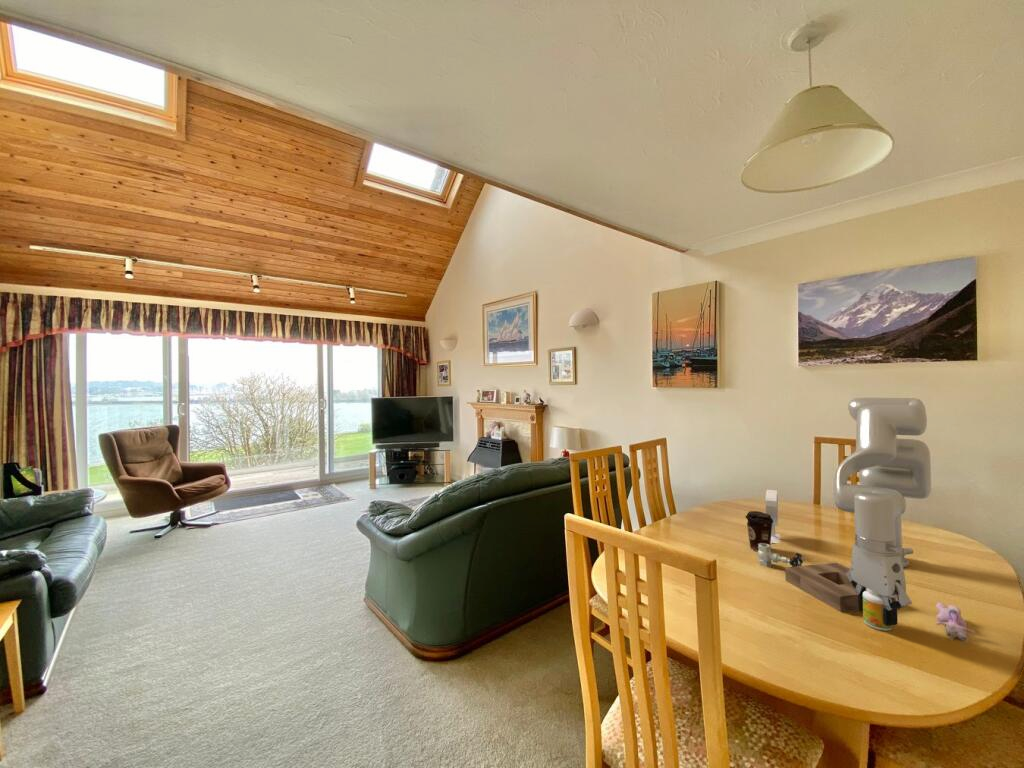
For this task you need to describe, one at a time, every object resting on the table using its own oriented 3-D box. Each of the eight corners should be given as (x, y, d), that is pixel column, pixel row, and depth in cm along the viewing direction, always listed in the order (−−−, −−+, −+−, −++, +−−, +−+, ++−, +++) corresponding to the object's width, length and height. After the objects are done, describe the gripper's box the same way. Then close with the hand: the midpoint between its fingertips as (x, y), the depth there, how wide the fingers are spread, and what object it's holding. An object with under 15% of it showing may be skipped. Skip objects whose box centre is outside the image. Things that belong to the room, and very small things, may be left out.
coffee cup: (747, 552, 148) (746, 515, 148) (744, 543, 156) (743, 509, 156) (776, 555, 145) (775, 518, 145) (771, 546, 152) (770, 511, 153)
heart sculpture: (780, 545, 153) (778, 497, 153) (764, 543, 156) (763, 495, 156) (780, 533, 166) (779, 488, 166) (766, 531, 169) (765, 487, 169)
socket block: (837, 575, 129) (836, 562, 129) (899, 605, 111) (898, 590, 111) (785, 580, 126) (785, 567, 126) (840, 611, 108) (839, 596, 108)
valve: (754, 565, 137) (797, 577, 128) (754, 545, 137) (796, 556, 128) (761, 560, 141) (803, 571, 132) (761, 540, 141) (802, 550, 132)
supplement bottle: (857, 619, 104) (856, 581, 104) (877, 618, 105) (875, 579, 105) (878, 632, 99) (876, 591, 99) (898, 630, 99) (897, 590, 100)
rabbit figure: (979, 654, 92) (963, 614, 104) (979, 630, 92) (963, 592, 103) (939, 644, 96) (928, 606, 108) (939, 620, 96) (928, 585, 107)
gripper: (927, 556, 94) (929, 636, 94) (854, 530, 111) (856, 598, 111) (899, 559, 93) (901, 640, 93) (830, 533, 110) (832, 601, 110)
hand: (877, 616), depth 102 cm, fingers closed on supplement bottle, 5 cm apart
